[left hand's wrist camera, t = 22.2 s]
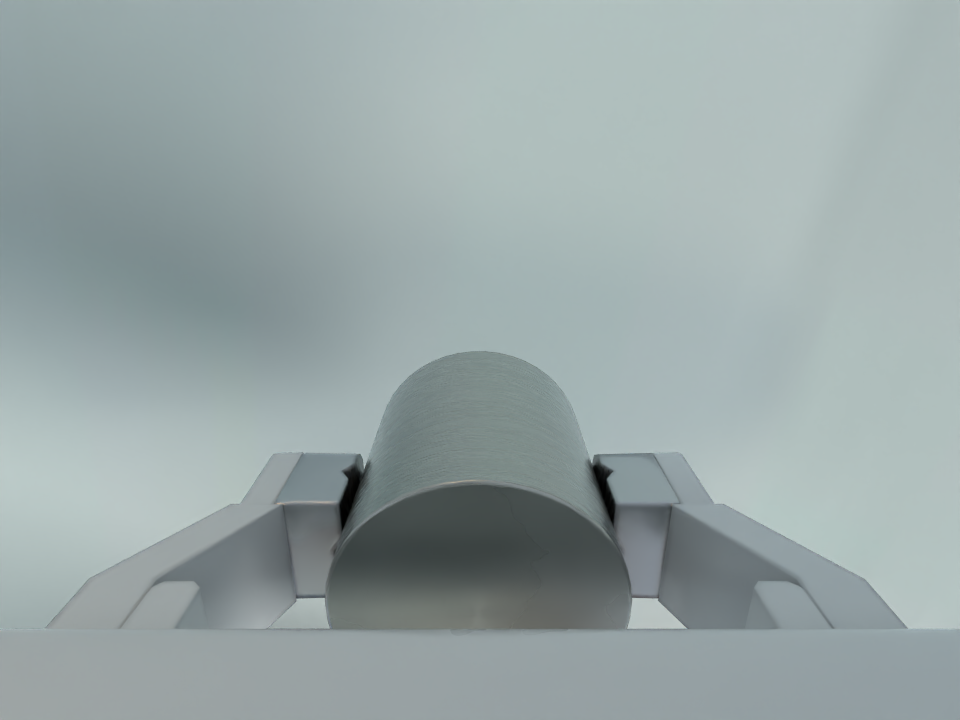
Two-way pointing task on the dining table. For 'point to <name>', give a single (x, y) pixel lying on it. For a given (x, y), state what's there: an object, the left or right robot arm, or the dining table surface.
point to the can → (478, 510)
